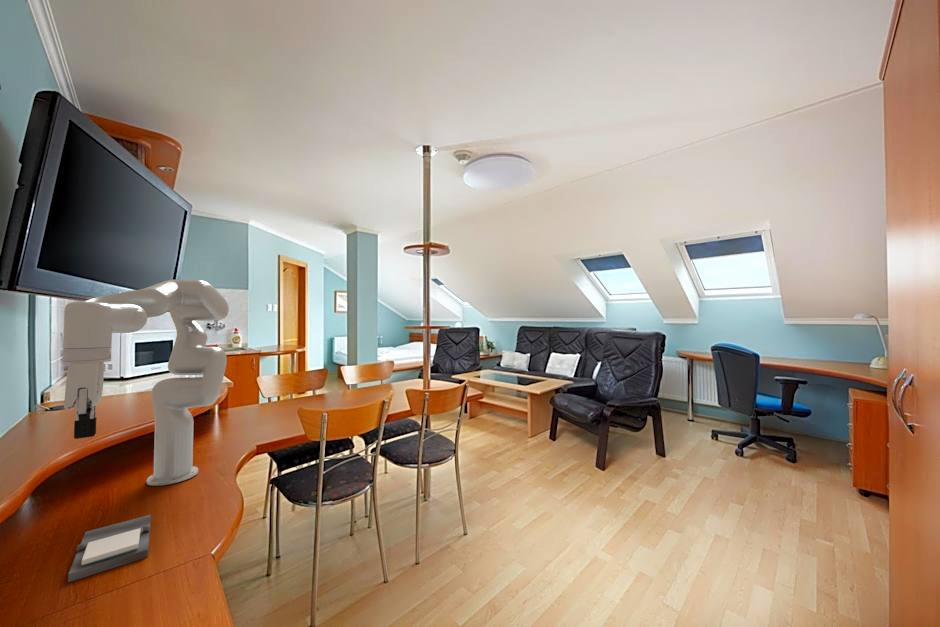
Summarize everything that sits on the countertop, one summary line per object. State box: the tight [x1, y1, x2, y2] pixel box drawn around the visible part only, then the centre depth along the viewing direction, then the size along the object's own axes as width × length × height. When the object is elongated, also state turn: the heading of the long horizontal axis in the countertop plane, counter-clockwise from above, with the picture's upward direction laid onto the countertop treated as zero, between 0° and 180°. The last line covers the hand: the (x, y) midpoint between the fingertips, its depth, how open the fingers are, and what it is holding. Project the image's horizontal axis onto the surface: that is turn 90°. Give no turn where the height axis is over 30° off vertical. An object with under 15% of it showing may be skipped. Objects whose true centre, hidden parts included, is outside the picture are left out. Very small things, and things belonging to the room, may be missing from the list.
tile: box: [81, 528, 141, 566], centre depth 73 cm, size 8×8×1 cm
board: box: [67, 514, 152, 583], centre depth 76 cm, size 18×11×3 cm, turn 41°
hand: (85, 436), depth 79 cm, fingers closed
